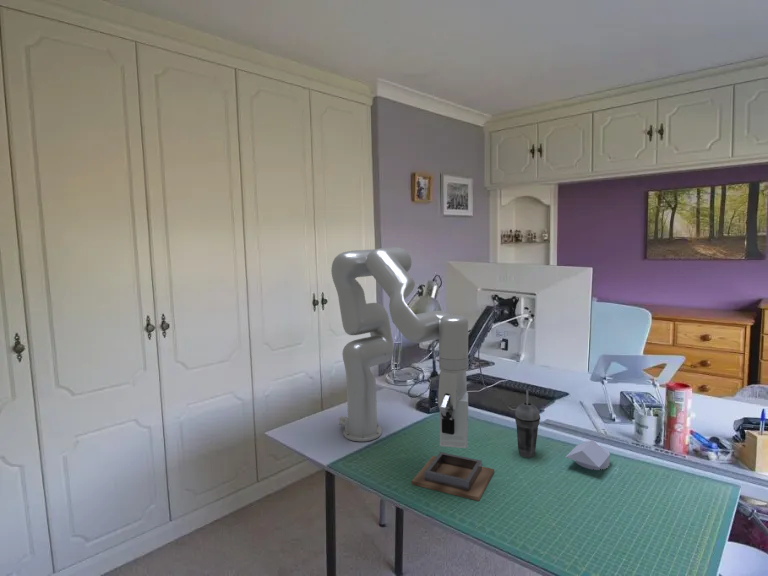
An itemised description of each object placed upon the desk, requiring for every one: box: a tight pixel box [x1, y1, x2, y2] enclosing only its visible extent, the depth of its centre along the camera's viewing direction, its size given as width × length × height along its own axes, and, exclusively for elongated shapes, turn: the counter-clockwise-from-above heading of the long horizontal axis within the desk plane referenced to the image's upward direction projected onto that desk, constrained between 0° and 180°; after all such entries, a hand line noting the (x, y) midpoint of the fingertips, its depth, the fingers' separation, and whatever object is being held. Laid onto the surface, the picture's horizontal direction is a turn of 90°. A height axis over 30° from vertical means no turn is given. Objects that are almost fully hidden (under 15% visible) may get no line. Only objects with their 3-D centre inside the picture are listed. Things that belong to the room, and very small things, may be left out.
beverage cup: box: [514, 389, 541, 459], centre depth 140 cm, size 7×7×20 cm
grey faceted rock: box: [565, 439, 611, 471], centre depth 134 cm, size 9×7×13 cm
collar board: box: [411, 451, 495, 502], centre depth 128 cm, size 18×15×4 cm
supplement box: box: [439, 391, 469, 449], centre depth 126 cm, size 7×7×13 cm
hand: (454, 426), depth 126 cm, fingers closed on supplement box, 8 cm apart
